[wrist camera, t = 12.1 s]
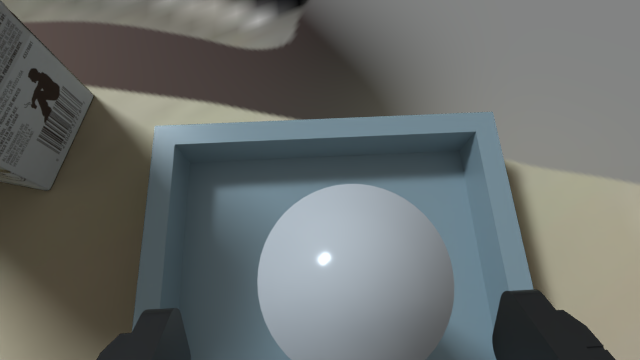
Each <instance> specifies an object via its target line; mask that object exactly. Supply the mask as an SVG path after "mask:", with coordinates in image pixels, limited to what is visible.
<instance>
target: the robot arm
mask: <svg viewBox="0 0 640 360" xmlns="http://www.w3.org/2000/svg"><path fill="white" fill-rule="evenodd" d="M492 344H493V350H494V354H495V357H496V359H497V360H615V358H614V357H613V356H612V355H611V354H610V353H609V352H608V350H605V349H604V348H603V345H602V344H601V342H600V341H599V340H598V339H597V338H596V337H595V336H594V334H593V333H592V332H591V331H590V330H589V329H588V328H587V326H585V325H584V324H582V323H581V322H580V321H578V320H577V319H575V318H574V317H573V316H571V315H570V314H568V313H567V312H565V311H564V310H555V308H554V307H553V306H552V305H551V303H550V302H549V301H548V300H547V299H546V297H545V296H544V295H543V294H542V293H541V292H540V291H538V290H536V289H532V290H514V291H504V292H503V293H502V295H501V298H500V302H499V307H498V311H497V316H496V321H495V325H494V330H493V335H492ZM97 360H191V354H190V349H189V345H188V341H187V337H186V333H185V328H184V324H183V320H182V316H181V313H180V310H179V309H178V308H165V309H147V310H144V311H143V312H142V314H141V315H140V317H139V319H138V321H137V323H136V325H135V327H134V329H133V331H132V333H125V334H119V335H118V336H117V337H116V338H115V339H114V340H113V341H112V342H111V343H110V344H109V345H108V346H107V347H106V348H105V349H104V350H103V351H102V352H101V353H100V355H99V357H98V358H97Z"/></svg>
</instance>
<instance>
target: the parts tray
mask: <svg viewBox="0 0 640 360" xmlns="http://www.w3.org/2000/svg"><path fill="white" fill-rule="evenodd" d="M343 184H363V185H370V186H375V187H378V188H382V189H385V190H388V191H390V192H393V193H395V194H397V195H399V196H400V197H402V198H404V199H406V200H407V201H409V202H410V203H411V204H413V205H414V206H415V207H417V208H418V209H419V210H420V211H421V212H422V213H423V214H424V215H425V216H426V217H427V218H428V219H429V221H430V222H431V223H432V224H433V225H434V227H435V228H436V230H437V231H438V233H439V234H440V236H441V238H442V240H443V242H444V244H445V246H446V249H447V251H448V254H449V257H450V260H451V265H452V269H453V276H454V302H453V308H452V313H451V316H450V320H449V323H448V326H447V328H446V330H445V332H444V335H443V337H442V338H441V340H440V342H439V343H438V345H437V346H436V348H435V349H434V350H433V352H432V353H431V354H430V355H429V356H428V357H427V359H426V360H497V359H496V357H495V354H494V350H493V344H492V335H493V330H494V325H495V321H496V316H497V311H498V307H499V302H500V298H501V295H502V293H503V292H504V291H514V290H532V289H533V285H532V280H531V276H530V272H529V267H528V263H527V259H526V254H525V250H524V246H523V241H522V237H521V232H520V228H519V224H518V219H517V215H516V211H515V206H514V202H513V198H512V193H511V189H510V185H509V180H508V176H507V172H506V167H505V163H504V159H503V155H502V150H501V145H500V141H499V137H498V132H497V128H496V124H495V119H494V115H493V112H480V113H479V112H478V113H455V114H454V113H453V114H430V115H406V116H383V117H358V118H335V119H310V120H286V121H263V122H239V123H215V124H191V125H167V126H155V130H154V139H153V148H152V157H151V166H150V175H149V184H148V193H147V202H146V211H145V220H144V229H143V238H142V247H141V255H140V264H139V273H138V282H137V291H136V300H135V309H134V318H133V327H132V331H133V329H134V327H135V325H136V323H137V321H138V319H139V317H140V315H141V314H142V312H143V311H144V310H147V309H165V308H178V309H179V310H180V313H181V316H182V320H183V324H184V328H185V333H186V337H187V341H188V345H189V349H190V354H191V360H291V359H290V358H289V357H288V356H287V355H286V354H285V353H284V352H283V350H282V349H281V348H280V347H279V346H278V344H277V343H276V341H275V340H274V338H273V336H272V335H271V333H270V331H269V329H268V327H267V325H266V323H265V320H264V317H263V314H262V311H261V308H260V302H259V297H258V285H257V278H258V267H259V262H260V257H261V253H262V250H263V247H264V244H265V242H266V240H267V238H268V236H269V234H270V232H271V230H272V229H273V227H274V226H275V224H276V223H277V221H278V220H279V219H280V218H281V217H282V215H283V214H284V213H285V212H286V211H287V210H288V209H289V208H290V207H292V206H293V205H294V204H295V203H297V202H298V201H299V200H301V199H302V198H304V197H306V196H308V195H309V194H311V193H313V192H316V191H318V190H321V189H324V188H327V187H331V186H335V185H343Z"/></svg>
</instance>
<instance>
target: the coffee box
mask: <svg viewBox="0 0 640 360" xmlns="http://www.w3.org/2000/svg"><path fill="white" fill-rule="evenodd" d="M92 99H93V94H92V93H91V92H90V91H89V89H88V88H87V87H85V86H84V85H83V84H82V83H81V82H80V81H79V80H78V79H77V78H76V77H75V76H74V75H73V74H72V73H71V72H70V71H69V70H68V69H67V68H66V67H65V66H64V65H63V64H62V63H61V62H60V61H59V60H58V59H57V58H56V57H55V55H54V54H52V52H51V51H50V50H49V49H48V48H47V47H46V46H45V45H44V44H43V43H42V42H41V41H40V40H39V39H38V38H37V37H36V36H35V35H33V33H32V32H31V31H30V30H29V29H28V28H27V27H26V26H25V25H24V24H23V23H22V22H21V21H20V20H19V19H18V18H17V17H16V16H15V15H14V14H13V13H12V12H11V11H10V10H9V9H8V8H7V7H6V6H5V4H4V3H3V2H2V1H0V182H5V183H10V184H15V185H20V186H25V187H30V188H35V189H41V190H49V189H50V188H51V187H52V185H53V182H54V180H55V178H56V176H57V174H58V172H59V169H60V167H61V165H62V163H63V161H64V159H65V157H66V155H67V152H68V150H69V148H70V146H71V144H72V142H73V140H74V138H75V135H76V133H77V131H78V129H79V127H80V125H81V122H82V120H83V118H84V116H85V114H86V112H87V110H88V107H89V105H90V103H91V101H92Z"/></svg>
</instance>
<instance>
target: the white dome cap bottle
mask: <svg viewBox="0 0 640 360" xmlns="http://www.w3.org/2000/svg"><path fill="white" fill-rule="evenodd" d="M257 285H258V297H259V302H260V308H261V311H262V314H263V317H264V320H265V323H266V325H267V327H268V329H269V331H270V333H271V335H272V336H273V338H274V340H275V341H276V343H277V344H278V346H279V347H280V348H281V349H282V350H283V352H284V353H285V354H286V355H287V356H288V357H289V358H290V359H291V360H426V359H427V357H428V356H429V355H430V354H431V353H432V352H433V350H434V349H435V348H436V346H437V345H438V343H439V342H440V340H441V338H442V337H443V335H444V332H445V330H446V328H447V326H448V323H449V320H450V316H451V313H452V308H453V302H454V276H453V269H452V265H451V260H450V257H449V254H448V251H447V249H446V246H445V244H444V242H443V240H442V238H441V236H440V234H439V233H438V231H437V230H436V228H435V227H434V225H433V224H432V223H431V222H430V221H429V219H428V218H427V217H426V216H425V215H424V214H423V213H422V212H421V211H420V210H419V209H418V208H417V207H415V206H414V205H413V204H411V203H410V202H409V201H407V200H406V199H404V198H402V197H400V196H399V195H397V194H395V193H393V192H390V191H388V190H385V189H382V188H378V187H375V186H370V185H363V184H343V185H335V186H331V187H327V188H324V189H321V190H318V191H316V192H313V193H311V194H309V195H308V196H306V197H304V198H302V199H301V200H299V201H298V202H297V203H295V204H294V205H293V206H292V207H290V208H289V209H288V210H287V211H286V212H285V213H284V214H283V215H282V217H281V218H280V219H279V220H278V221H277V223H276V224H275V226H274V227H273V229H272V230H271V232H270V234H269V236H268V238H267V240H266V242H265V244H264V247H263V250H262V253H261V257H260V262H259V267H258V278H257Z"/></svg>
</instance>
